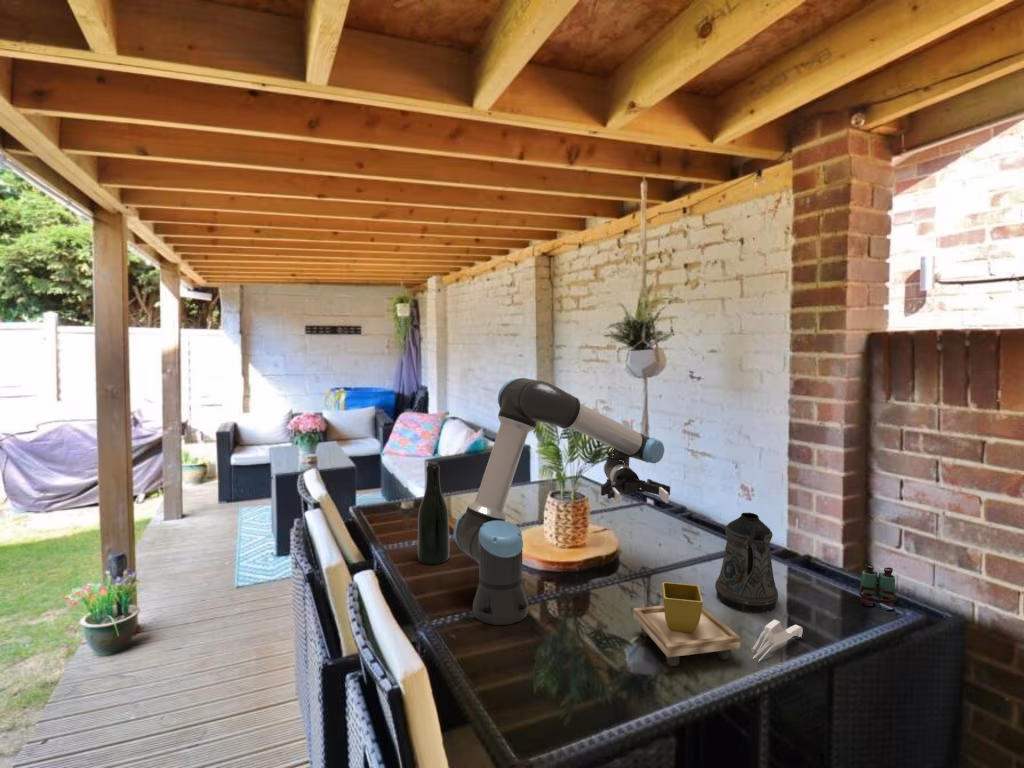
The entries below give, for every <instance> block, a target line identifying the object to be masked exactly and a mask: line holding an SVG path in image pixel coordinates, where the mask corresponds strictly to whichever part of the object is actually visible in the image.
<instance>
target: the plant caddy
mask: <svg viewBox="0 0 1024 768" xmlns="http://www.w3.org/2000/svg"><path fill="white" fill-rule="evenodd" d="M633 619H634V620H635V622H636V623H637V624H638V625H639V626H640V629H641V634H642V635H643V636H644V637H649V638H650V639H651V640H652V641H653V642H654V643H655V644H656V646H657V647H658V648H659V649H660V650H661V651H662V652H663V654H664V655H665V659H666V660H665V661H666V662H667V665H668V666H669V667H675V666H679V665H680V657H681V656H690V655H697V654H699V655H700V654H708V653H713V652H716V654H717V656H718V658H719V659H720V660H729V659H731V658H732V650H736V649H740V648H741V637H740V636H739V635H738V634H737V633H736V632H734V630H732V629H731V628H730V627H728V625H727V624H725V623H723V621H721V620H720V618H718V617H717V616H716V615H714V614H713V613H712V612H711V611H710V610H708V608H706V607H705V606H704V605H703V604H702V610H701V616H700V621H699V624H698V626H697V628H696V629H695V630H694V631H693V632H692V633H688V632H679V631H671V630H670V629H669V627H668V625H667V622H666V619H665V611H664V604H663V605H653V606H644V607H634V608H633Z"/></svg>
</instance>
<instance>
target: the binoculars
mask: <svg viewBox="0 0 1024 768" xmlns="http://www.w3.org/2000/svg"><path fill="white" fill-rule="evenodd" d="M864 564H865V565H864V566H865V567H864V568H865V570H862V572H861V580H860V583H859V591H858V592H859V596H860V600H861V601H862V602H864V603H868V604H873V603H874V604H875V603H876V604H880V603H883V604H885V605H887V606H891V607H893V606H894V603H895V602H897V600H898V599H899V597H898V595H896V592H897V591H896V577H895V575H894V574H893V571H894V569H893V567H884V568H883V572H880V571H879V572H877V571H874V569H875V567H874V566H873V565H871V564H870V563H864ZM892 574H893V575H892ZM877 593H878V595H880V596H881V597H880V599H878V598H875V597H874V596H873V595H875V594H877ZM894 607H895V606H894Z"/></svg>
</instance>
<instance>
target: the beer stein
mask: <svg viewBox="0 0 1024 768" xmlns="http://www.w3.org/2000/svg"><path fill="white" fill-rule="evenodd" d="M724 531H725V535H726V542H725V543H726V545H725V547H724V553H723V554H724V555H723V560H722V564H721V569H720V572H719V575H718V578H717V579H716V581H715V585H714V587H715V590H716V591H715V592H716V597H717V599H718V600H719V601H720V603H722V604H723V605H725V606H726V607H728V608H731V609H734V610H736V611H740V612H745V613H751V612H752V614H764V613H768V612H767V611H769V612H772V611H773V610H774V609H775V608H776V606H777V602H778V599H779V592H778V588H777V586H776V583H775V576H774V572H773V564H772V554H771V547H770V546H771V545H770V544H771V542H772V538H773V532H772V531H771V529H770V527H768V525H767V524H765V523H764V522H763V521H762V520H761V519H760V517H759V515H758V514H756V513H753V512H742V513H741V515H740V516H738V518H736V519H733V520H731V521H730V522H728V523H727V524H726V526H725V528H724ZM772 609H773V610H772ZM763 612H764V613H763Z"/></svg>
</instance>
